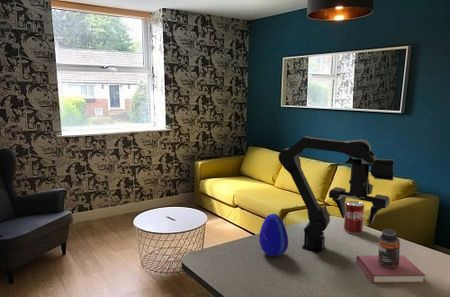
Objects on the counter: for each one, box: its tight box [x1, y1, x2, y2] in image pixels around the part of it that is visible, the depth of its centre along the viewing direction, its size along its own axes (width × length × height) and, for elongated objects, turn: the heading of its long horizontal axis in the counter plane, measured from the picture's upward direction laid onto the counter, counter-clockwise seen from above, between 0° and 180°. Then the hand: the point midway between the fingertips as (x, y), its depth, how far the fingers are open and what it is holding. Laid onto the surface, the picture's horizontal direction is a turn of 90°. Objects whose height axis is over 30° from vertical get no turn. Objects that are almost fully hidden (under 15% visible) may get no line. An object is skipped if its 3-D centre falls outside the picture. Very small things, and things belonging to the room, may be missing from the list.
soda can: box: [343, 200, 365, 235], centre depth 138 cm, size 7×7×12 cm
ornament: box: [258, 213, 289, 257], centre depth 118 cm, size 11×9×15 cm
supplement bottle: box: [378, 228, 401, 268], centre depth 104 cm, size 6×6×11 cm
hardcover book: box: [355, 255, 426, 284], centre depth 106 cm, size 16×12×3 cm
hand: (356, 220), depth 115 cm, fingers open, 9 cm apart
